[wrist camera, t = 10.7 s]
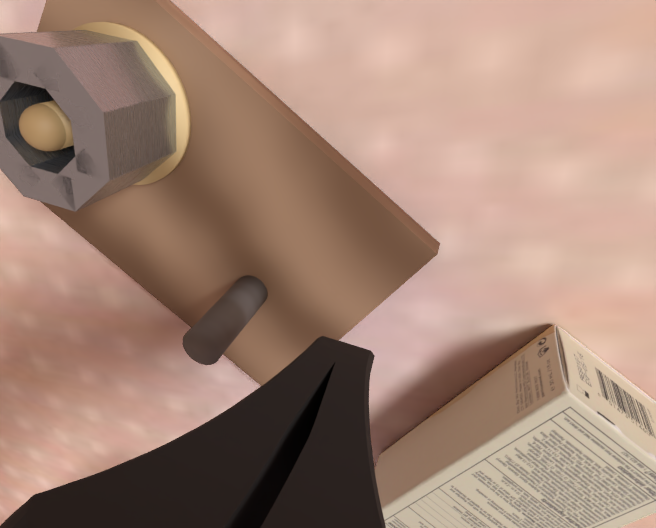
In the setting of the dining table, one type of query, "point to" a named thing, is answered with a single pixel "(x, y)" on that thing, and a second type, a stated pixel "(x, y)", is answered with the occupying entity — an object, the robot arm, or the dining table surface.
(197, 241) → the board
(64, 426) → the dining table surface
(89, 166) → the collar
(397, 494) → the skincare box
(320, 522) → the robot arm
